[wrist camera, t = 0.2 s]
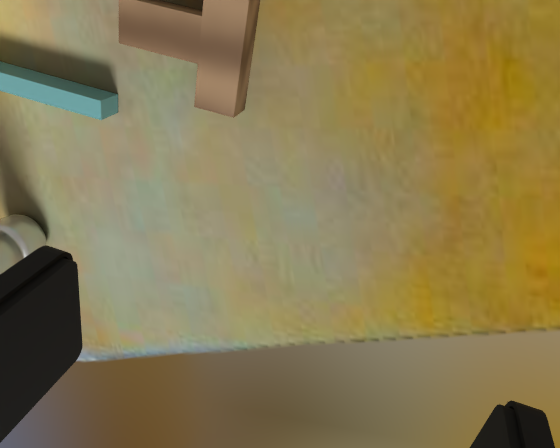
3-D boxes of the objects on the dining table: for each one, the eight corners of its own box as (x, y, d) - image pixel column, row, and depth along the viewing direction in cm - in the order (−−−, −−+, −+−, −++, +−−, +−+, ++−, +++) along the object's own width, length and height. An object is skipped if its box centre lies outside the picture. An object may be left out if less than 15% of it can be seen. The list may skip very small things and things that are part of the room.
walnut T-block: (137, -55, 41) (118, -56, 39) (263, -26, 39) (252, -26, 37) (135, 79, 47) (118, 85, 45) (244, 109, 46) (233, 117, 43)
